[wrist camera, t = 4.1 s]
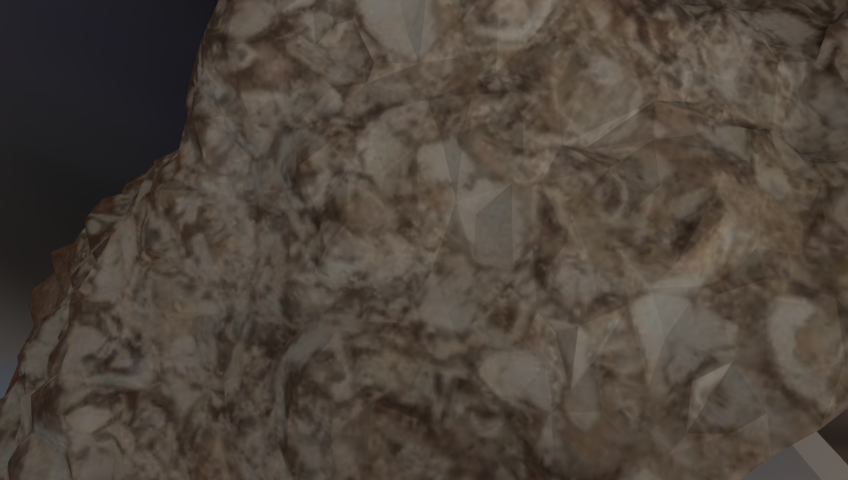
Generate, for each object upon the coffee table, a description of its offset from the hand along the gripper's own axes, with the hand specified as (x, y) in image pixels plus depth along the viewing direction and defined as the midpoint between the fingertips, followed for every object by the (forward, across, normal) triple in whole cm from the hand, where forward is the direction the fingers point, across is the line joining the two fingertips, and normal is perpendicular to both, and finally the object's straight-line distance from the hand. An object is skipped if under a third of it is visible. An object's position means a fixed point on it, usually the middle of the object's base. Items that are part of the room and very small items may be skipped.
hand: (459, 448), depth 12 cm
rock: (+3, +2, +2) cm, 4 cm away
